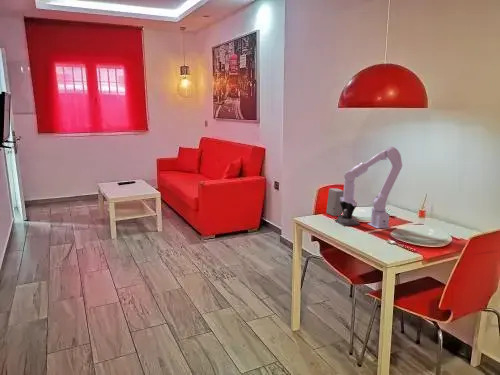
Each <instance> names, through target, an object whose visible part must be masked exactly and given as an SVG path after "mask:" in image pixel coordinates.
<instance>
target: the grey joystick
mask: <svg viewBox="0 0 500 375" xmlns="http://www.w3.org/2000/svg"><path fill="white" fill-rule="evenodd" d="M357 219H358V218H357V216H354V215H352V217H351V218H343V214H342V215H339V216H337V218H336V219H334V222H335V221H336V222H335V223H337V222H338V223H337V224H339V225H341V226H343V227H347V226H349V227H350V226H359V225H361V224H360V223H361V222H358V221H357Z"/></svg>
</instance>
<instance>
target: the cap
mask: <svg viewBox="0 0 500 375" xmlns="http://www.w3.org/2000/svg"><path fill="white" fill-rule="evenodd" d="M342 215H343V218H351V217H348V215H347V209H344V212H342Z"/></svg>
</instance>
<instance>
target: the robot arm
mask: <svg viewBox="0 0 500 375" xmlns="http://www.w3.org/2000/svg"><path fill="white" fill-rule="evenodd" d="M381 160H382V161H385V160H389V162H390V164H391V165H392V166H391V168H390V170H389V172H388V174H387V176H386V178H385V180H384V182H383V184H382V186H381V189H380V191H379V193H378V194H377V196H375V197H374V198H373V201H372V204H373V207H372V208H371V214H370V215H371V217H370V218H371V219H370V222H368V223H367V225H369V226H371V227H373V228H375V229H389V228H390V226H389V224H390V222H389V220H390V215H389V213H387V212H386V211H387V210H386V207H387V205H386V203H387V201H388V198H389V195H390V193H391V191H392V188H393V186H394V184H395V182H396V181H397V179H398V176H399V174H400V172H401V170H402V168H403V161H402V155H401V153H400V152H399V150H398V149H397V148H396V147H393V146H390V147H389V146H388V147H387V148H386V149H384V150H382V151H379V152H378V153H377V154H375V155H374V156H372V157H371V158H370V159H368V160H367V161H365V162H358V163H357V164H356V165H355V166H354V167H352V168H349V170H347V171H346V172H345V173H344V184H343V191H344V194H343V197H340V201H342V202H340V204H341V207H342V211H343V212H344V209H347V215H348V217H352V216H353V213H354V211H355V209H356V208H357V206H358V202H356V200H354V198H355V180H356V178H359V177H360V176H362V175H364V174H365V173H367V172H368V169H369V168H370V167H372V166H373V165H375V164H376V163H378V162H380V161H381ZM343 212H342V213H343Z"/></svg>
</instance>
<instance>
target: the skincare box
mask: <svg viewBox="0 0 500 375" xmlns="http://www.w3.org/2000/svg"><path fill="white" fill-rule="evenodd" d="M343 194H344V189H343V190H342V189H340V188H336V187H335V188H334V187H333V188H332V187H331V188H329V189H328V195H327V196H328V197H327V203H326V214H328V215H329V216H333V217H338V215H341V214H342V215H343V211H342V207H341V204H340V202H342V201H340V197H343Z"/></svg>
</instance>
